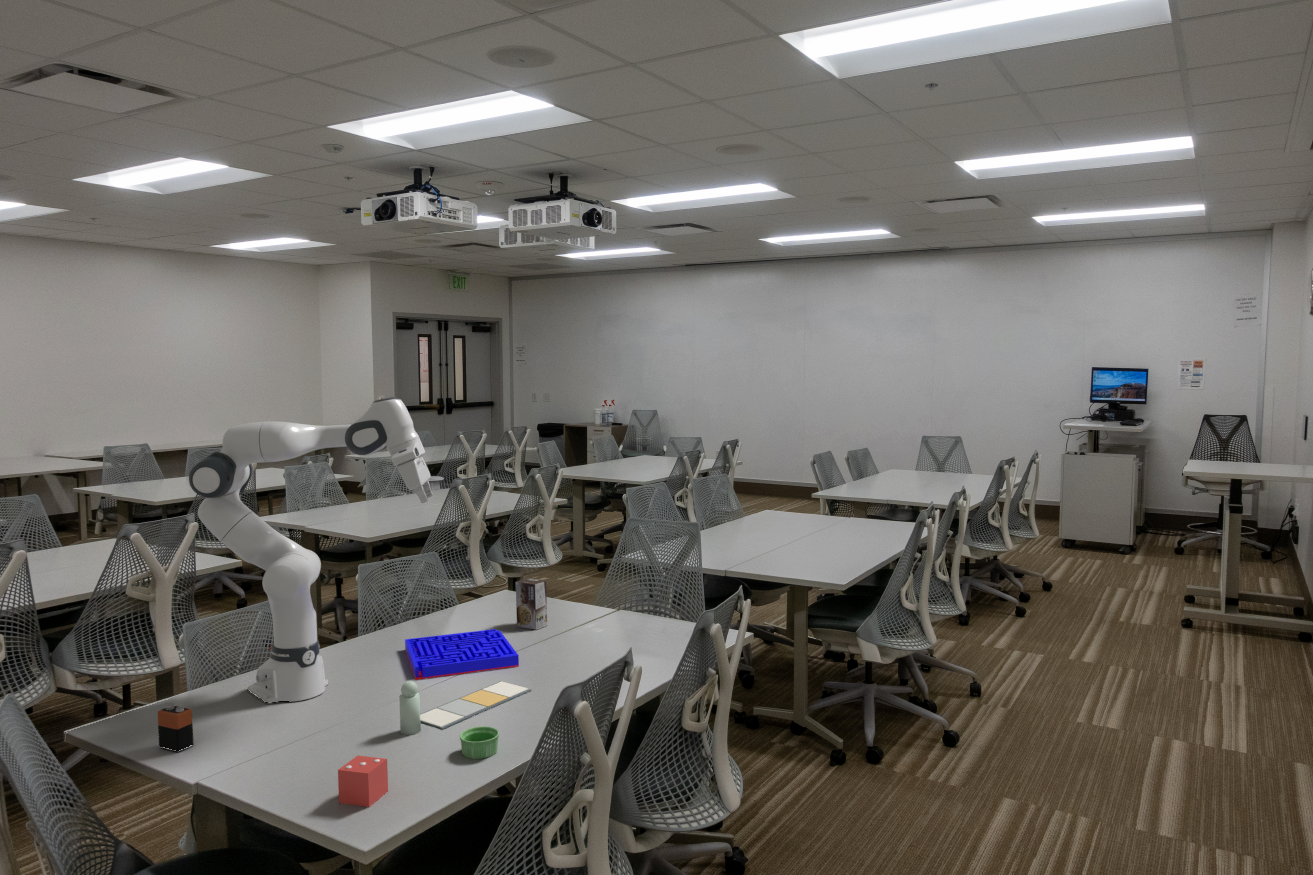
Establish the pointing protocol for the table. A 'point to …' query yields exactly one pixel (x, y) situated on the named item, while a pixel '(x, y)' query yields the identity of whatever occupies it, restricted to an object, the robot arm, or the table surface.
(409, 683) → the pawn
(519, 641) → the table surface
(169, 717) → the battery
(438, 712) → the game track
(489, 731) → the ramekin
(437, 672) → the maze
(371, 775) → the red die
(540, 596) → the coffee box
